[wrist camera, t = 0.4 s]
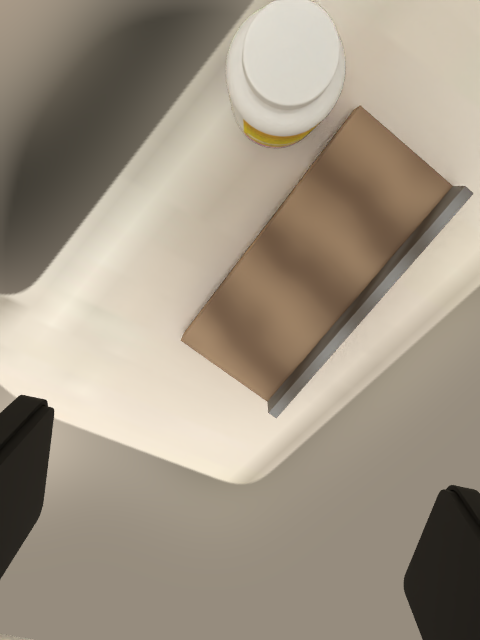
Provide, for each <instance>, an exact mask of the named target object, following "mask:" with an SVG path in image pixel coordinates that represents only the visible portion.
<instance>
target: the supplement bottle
mask: <svg viewBox="0 0 480 640" xmlns="http://www.w3.org/2000/svg"><path fill="white" fill-rule="evenodd" d="M345 72H346V61H345V53H344V48H343V44H342V42H341V39H340V36H339V34H338V32H337V29H336V26H335V24H334V22H333V21H332V19H331V17H330V16H329V15H328V13H327V12H326V11H325V10H324V9H323V8H322V7H321V6H319V5H318V4H316V3H315V2H313V1H311V0H275V1H273V2H271V3H269V4H268V5H266V6H265V7H262V8H261V9H259V10H257V11H256V12H254V13H253V14H252V15H250V16H249V17H248V18H247V19H246V20H245V21H244V22H243V23H242V25H241V26H240V27H239V29H238V30H237V32H236V34H235V35H234V37H233V39H232V42H231V44H230V47H229V50H228V54H227V60H226V83H227V88H228V93H229V97H230V101H231V106H232V110H233V114H234V117H235V120H236V122H237V124H238V126H239V127H240V129H241V130H242V132H243V133H244V134H245V135H246V136H247V137H248V138H249V139H251V140H252V141H254V142H255V143H257V144H259V145H262V146H265V147H269V148H282V147H287V146H290V145H292V144H295V143H297V142H298V141H300V140H301V139H303V138H304V137H305V136H306V135H308V134H309V133H310V132H311V131H312V130H313V129H314V128H315V127H316V126H317V125H318V124H319V123H320V122H321V121H322V120H323V119H324V118H325V117H326V116H327V115H328V114H329V113H330V111H331V110H332V109H333V107H334V106H335V104H336V102H337V100H338V98H339V96H340V94H341V91H342V88H343V84H344V80H345Z"/></svg>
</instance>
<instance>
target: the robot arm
mask: <svg viewBox="0 0 480 640" xmlns="http://www.w3.org/2000/svg"><path fill="white" fill-rule="evenodd" d="M53 420H54V409H53V408H52V407H48V403H47V401H46V400H44V399H40V398H35V397H30V396H25V395H20V396H18V397H17V398H16V399H15V400H14V401H13V402H12V403H11V404H10V405H9V406H7V407H6V408H5V409H4V410H3V411H2V412H1V413H0V579H1V577H2V576H3V574H4V573H5V571H6V569H7V568H8V566H9V564H10V563H11V561H12V560H13V558H14V557H15V555H16V553H17V552H18V550H19V548H20V547H21V545H22V544H23V542H24V541H25V539H26V538H27V536H28V534H29V533H30V531H31V530H32V528H33V526H34V524H35V523H36V522H37V520H38V518H39V516H40V513H41V510H42V506H43V501H44V493H45V485H46V477H47V468H48V459H49V451H50V444H51V436H52V427H53ZM404 591H405V594H406V597H407V600H408V602H409V605H410V608H411V610H412V613H413V615H414V618H415V621H416V623H417V626H418V628H419V631H420V633H421V636H422V639H423V640H480V493H479V492H478V491H476V490H474V489H469V488H464V487H460V486H455V485H451V486H449V487H448V488H447V489H446V490H441V491H440V493H439V494H438V497H437V499H436V501H435V504H434V506H433V509H432V511H431V513H430V516H429V518H428V521H427V523H426V525H425V528H424V530H423V533H422V535H421V538H420V540H419V543H418V545H417V548H416V550H415V552H414V555H413V557H412V560H411V562H410V564H409V567H408V569H407V572H406V574H405V577H404ZM0 640H33V639H27V638H21V637H15V636H9V635H3V634H0Z"/></svg>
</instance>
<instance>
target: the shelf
mask: <svg viewBox="0 0 480 640" xmlns="http://www.w3.org/2000/svg"><path fill="white" fill-rule="evenodd" d="M472 195H473V193H472V192H471V191H470V190H469V189H468V188H467V187H466V186H452V185H451V184H450V183H449V182H448V181H446V180H445V179H444V178H443V177H442V176H441V175H440V174H438V173H437V172H436V171H435V170H434V169H433V168H432V167H430V166H429V165H428V164H427V163H426V162H425V161H423V160H422V159H421V158H420V157H419V156H418V155H417V154H415V153H414V152H413V151H412V150H411V149H410V148H409V147H407V146H406V145H405V144H404V143H403V142H402V141H400V140H399V139H398V138H397V137H396V136H395V135H394V134H392V133H391V132H390V131H389V130H388V129H387V128H386V127H384V126H383V125H382V124H381V123H380V122H379V121H377V120H376V119H375V118H374V117H373V116H372V115H371V114H369V113H368V112H367V111H366V110H365V109H364V108H363V107H361V106H359V107H357V108H356V109H354V110H353V112H352V113H351V114H350V116H349V117H348V118H347V120H346V121H345V122H344V124H343V125H342V126H341V128H340V129H339V130H338V131H337V133H336V134H335V135H334V137H333V138H332V139H331V141H330V142H329V143H328V145H327V146H326V147H325V149H324V150H323V151H322V152H321V154H320V155H319V156H318V158H317V159H316V160H315V162H314V163H313V164H312V166H311V167H310V168H309V170H308V171H307V172H306V173H305V175H304V176H303V177H302V179H301V180H300V181H299V183H298V184H297V185H296V187H295V188H294V189H293V191H292V192H291V193H290V194H289V196H288V197H287V198H286V200H285V201H284V202H283V204H282V205H281V206H280V208H279V209H278V210H277V212H276V213H275V214H274V215H273V217H272V218H271V219H270V221H269V222H268V223H267V225H266V226H265V227H264V229H263V230H262V231H261V232H260V234H259V235H258V236H257V238H256V239H255V240H254V242H253V243H252V244H251V246H250V247H249V248H248V250H247V251H246V252H245V253H244V255H243V256H242V257H241V259H240V260H239V261H238V263H237V264H236V265H235V267H234V268H233V269H232V271H231V272H230V273H229V274H228V276H227V277H226V278H225V280H224V281H223V282H222V284H221V285H220V286H219V288H218V289H217V290H216V292H215V293H214V294H213V295H212V297H211V298H210V299H209V301H208V302H207V303H206V305H205V306H204V307H203V309H202V310H201V311H200V313H199V314H198V315H197V316H196V318H195V319H194V320H193V322H192V323H191V324H190V326H189V327H188V328H187V330H186V331H185V332H184V334H183V336H182V339H181V341H182V342H184V343H185V344H187V345H188V346H189V347H191V348H192V349H194V350H195V351H196V352H198V353H199V354H201V355H202V356H204V357H205V358H206V359H208V360H209V361H211V362H212V363H213V364H215V365H216V366H218V367H219V368H221V369H222V370H223V371H225V372H226V373H228V374H229V375H230V376H232V377H233V378H235V379H236V380H238V381H239V382H240V383H242V384H243V385H245V386H246V387H248V388H249V389H250V390H252V391H253V392H255V393H256V394H257V395H259V396H260V397H262V398H263V399H265V400H266V401H267V402H268V413H269V414H271V415H272V416H274V417H275V418H277V417H278V416H279V415H280V414H281V412H282V411H283V410H284V409H285V408H286V407H287V406H288V404H289V403H290V402H291V401H292V400H293V399H294V398H295V396H296V395H297V394H298V393H299V392H300V391H301V390H302V388H303V387H304V386H305V385H306V384H307V383H308V382H309V380H310V379H311V378H312V377H313V376H314V375H315V374H316V372H317V371H318V370H319V369H320V368H321V367H322V366H323V365H324V363H325V362H326V361H327V360H328V359H329V358H330V357H331V355H332V354H333V353H334V352H335V351H336V350H337V349H338V347H339V346H340V345H341V344H342V343H343V342H344V341H345V339H346V338H347V337H348V336H349V335H350V334H351V333H352V331H353V330H354V329H355V328H356V327H357V326H358V325H359V323H360V322H361V321H362V320H363V319H364V318H365V317H366V315H367V314H368V313H369V312H370V311H371V310H372V309H373V307H374V306H375V305H376V304H377V303H378V302H379V301H380V300H381V298H382V297H383V296H384V295H385V294H386V293H387V292H388V290H389V289H390V288H391V287H392V286H393V285H394V284H395V282H396V281H397V280H398V279H399V278H400V277H401V276H402V274H403V273H404V272H405V271H406V270H407V269H408V268H409V266H410V265H411V264H412V263H413V262H414V261H415V260H416V258H417V257H418V256H419V255H420V254H421V253H422V252H423V250H424V249H425V248H426V247H427V246H428V245H429V244H430V242H431V241H432V240H433V239H434V238H435V237H436V236H437V235H438V233H439V232H440V231H441V230H442V229H443V228H444V227H445V225H446V224H447V223H448V222H449V221H450V220H451V219H452V217H453V216H454V215H455V214H456V213H457V212H458V211H459V209H460V208H461V207H462V206H463V205H464V204H465V203H466V201H467V200H468V199H469V198H470V197H471V196H472Z"/></svg>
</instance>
